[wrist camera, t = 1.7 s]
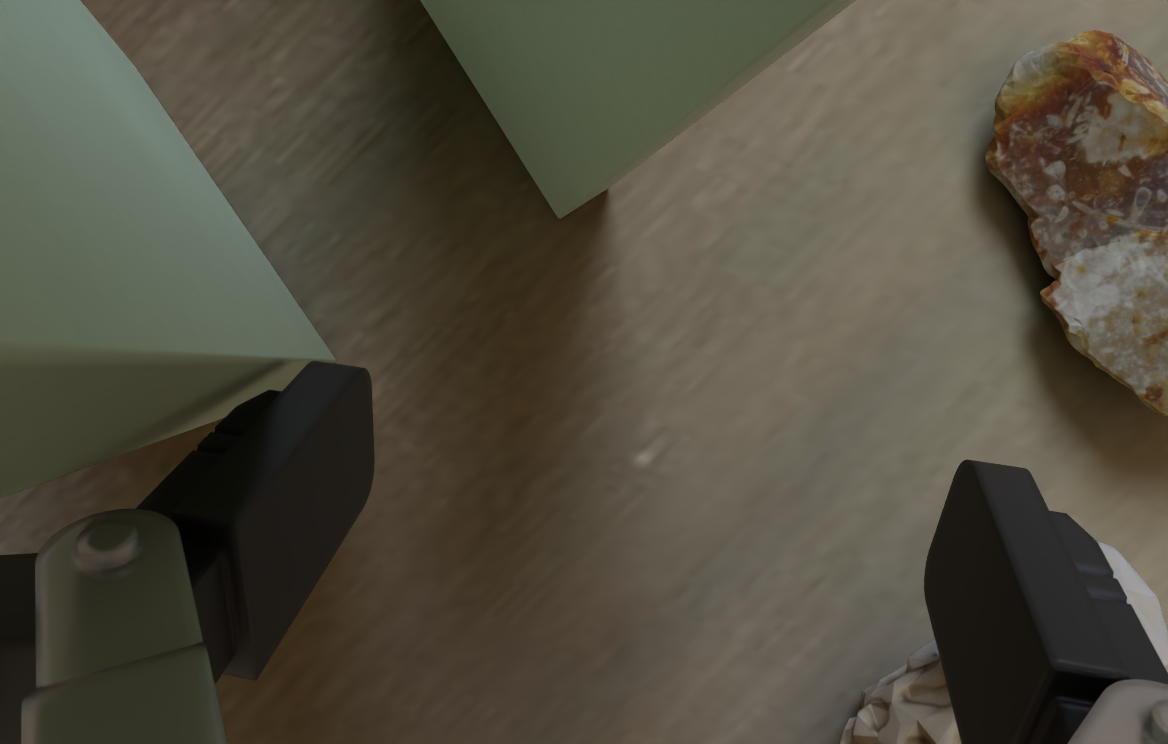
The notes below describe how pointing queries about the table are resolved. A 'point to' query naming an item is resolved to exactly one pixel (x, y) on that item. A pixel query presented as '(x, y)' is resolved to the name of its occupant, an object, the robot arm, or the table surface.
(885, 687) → the teapot
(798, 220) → the table surface
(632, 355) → the table surface
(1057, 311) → the decorative stone
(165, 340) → the stand
